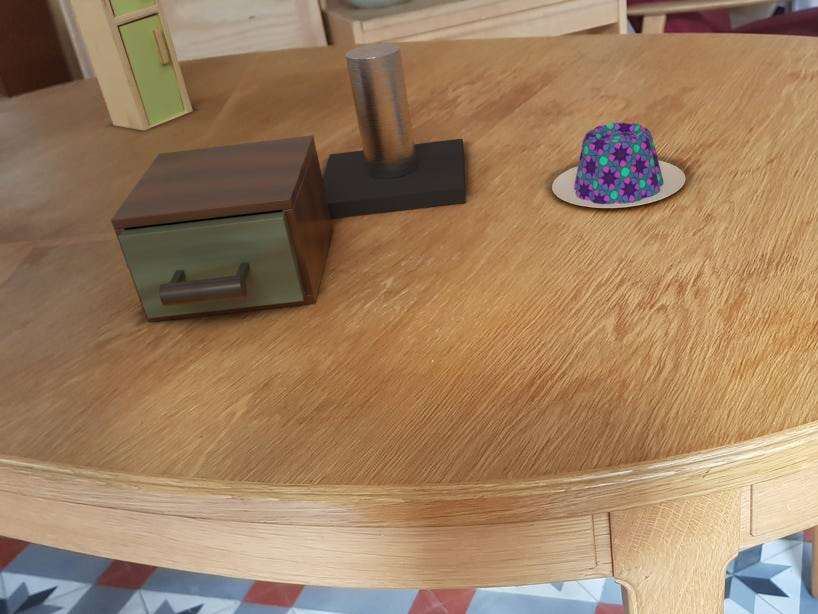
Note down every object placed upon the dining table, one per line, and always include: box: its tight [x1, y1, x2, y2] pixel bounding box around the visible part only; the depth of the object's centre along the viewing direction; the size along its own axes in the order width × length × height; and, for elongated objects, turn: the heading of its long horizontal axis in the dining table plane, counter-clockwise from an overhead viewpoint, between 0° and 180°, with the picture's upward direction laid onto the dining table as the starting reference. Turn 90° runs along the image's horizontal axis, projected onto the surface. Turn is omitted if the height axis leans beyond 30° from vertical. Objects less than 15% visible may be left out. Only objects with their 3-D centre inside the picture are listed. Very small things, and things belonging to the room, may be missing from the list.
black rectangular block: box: [322, 138, 467, 219], centre depth 93 cm, size 14×14×2 cm
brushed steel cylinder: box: [345, 42, 418, 179], centre depth 90 cm, size 5×5×11 cm
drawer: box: [117, 210, 305, 319], centre depth 75 cm, size 18×12×7 cm
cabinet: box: [110, 134, 334, 323], centre depth 78 cm, size 15×14×9 cm
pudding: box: [551, 122, 686, 209], centre depth 85 cm, size 12×12×5 cm
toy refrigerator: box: [69, 0, 194, 131], centre depth 114 cm, size 8×7×21 cm
